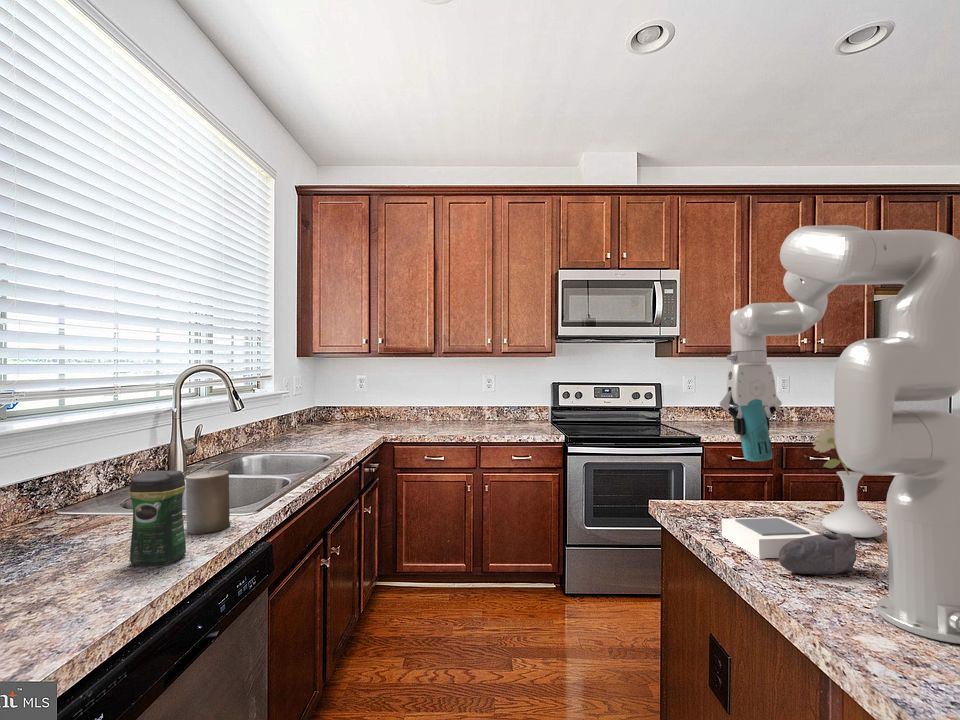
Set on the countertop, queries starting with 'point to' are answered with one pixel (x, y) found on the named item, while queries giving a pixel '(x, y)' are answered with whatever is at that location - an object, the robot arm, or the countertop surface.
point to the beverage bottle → (755, 432)
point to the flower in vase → (846, 496)
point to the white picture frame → (763, 534)
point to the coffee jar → (157, 517)
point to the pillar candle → (207, 501)
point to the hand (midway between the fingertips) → (751, 433)
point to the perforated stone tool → (819, 554)
